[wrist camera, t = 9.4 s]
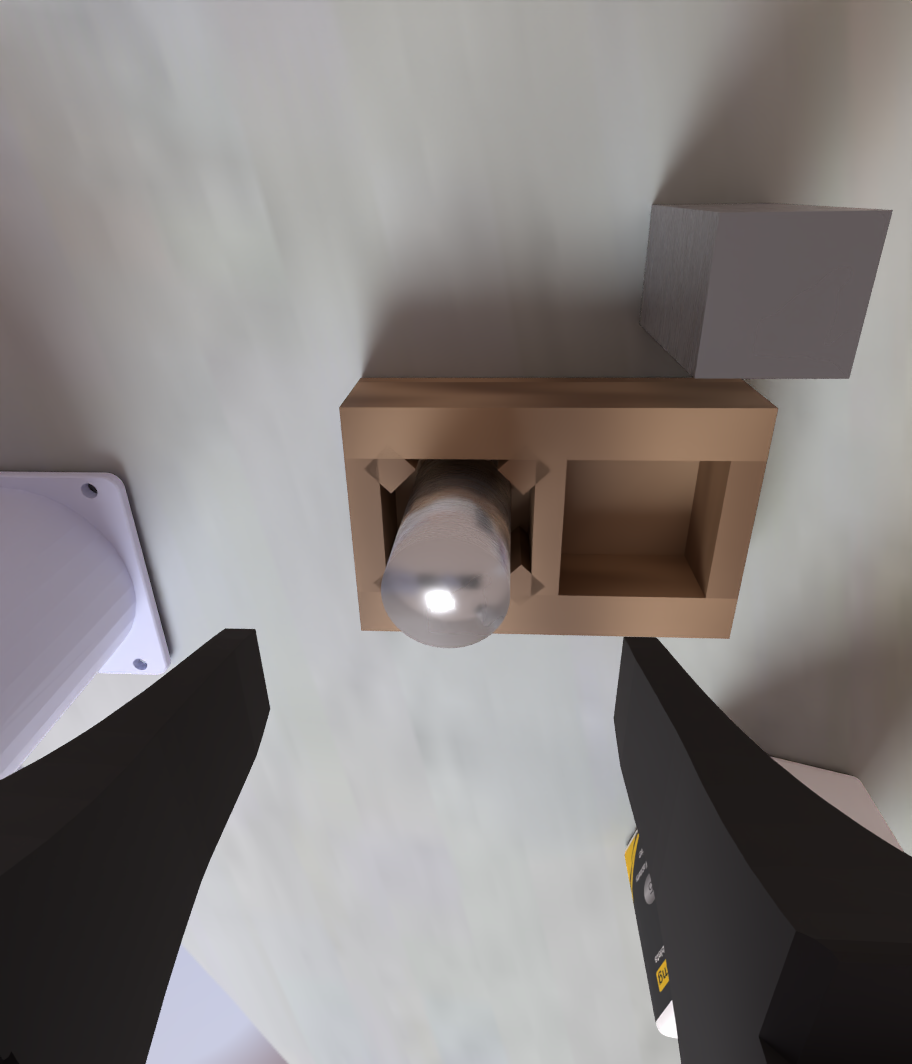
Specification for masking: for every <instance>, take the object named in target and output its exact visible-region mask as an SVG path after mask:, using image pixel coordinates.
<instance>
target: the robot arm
mask: <svg viewBox="0 0 912 1064" xmlns="http://www.w3.org/2000/svg"><path fill="white" fill-rule="evenodd" d="M88 484H92V485H93V486H94V487H95V488H96V490H97V493H94V492H92V491H91V490H90V489H89V487H88ZM140 659H142V660H144V661H145V662H146V663H143V662H142V661H140ZM170 664H171V659H170V655H169V651H168V647H167V644H166V640H165V636H164V632H163V629H162V625H161V621H160V617H159V614H158V610H157V606H156V602H155V599H154V595H153V591H152V587H151V583H150V580H149V576H148V572H147V568H146V565H145V561H144V557H143V553H142V550H141V546H140V542H139V538H138V535H137V531H136V527H135V523H134V520H133V516H132V512H131V508H130V504H129V501H128V497H127V493H126V489H125V486H124V484H123V482H122V481H121V480H120V479H119V478H118V477H117V476H115V475H114V474H111V473H104V472H0V1064H145V1063H146V1060H147V1056H148V1052H149V1049H150V1046H151V1042H152V1038H153V1035H154V1031H155V1028H156V1024H157V1021H158V1017H159V1014H160V1010H161V1007H162V1003H163V1000H164V996H165V993H166V990H167V986H168V983H169V980H170V976H171V973H172V970H173V967H174V963H175V960H176V957H177V954H178V951H179V948H180V944H181V941H182V938H183V935H184V932H185V929H186V926H187V923H188V920H189V917H190V914H191V911H192V908H193V905H194V902H195V899H196V896H197V893H198V890H199V887H200V884H201V881H202V879H203V876H204V874H205V871H206V869H207V866H208V864H209V861H210V859H211V857H212V854H213V852H214V850H215V848H216V845H217V843H218V841H219V839H220V837H221V834H222V832H223V830H224V828H225V825H226V823H227V821H228V819H229V817H230V814H231V812H232V810H233V808H234V805H235V803H236V801H237V799H238V797H239V794H240V792H241V790H242V788H243V785H244V783H245V781H246V779H247V776H248V774H249V772H250V769H251V767H252V765H253V762H254V760H255V758H256V755H257V752H258V749H259V746H260V743H261V739H262V736H263V733H264V729H265V726H266V722H267V719H268V715H269V711H270V705H269V700H268V694H267V689H266V684H265V678H264V673H263V668H262V662H261V657H260V652H259V646H258V641H257V636H256V630H255V629H224V630H223V631H221V632H220V633H218V634H217V635H216V636H214V637H213V638H212V639H210V640H209V641H208V642H206V643H205V644H204V645H203V646H201V647H200V648H199V649H197V650H196V651H195V652H194V653H192V654H191V655H190V656H189V657H187V658H186V659H185V660H183V661H182V662H181V663H180V664H178V665H177V666H176V667H175V668H173V669H172V670H171V671H169V672H168V673H167V674H165V675H164V676H163V677H162V678H160V679H159V680H158V681H156V682H155V683H154V684H152V685H151V686H150V687H149V688H147V689H146V690H145V691H143V692H142V693H140V694H139V695H138V696H136V697H135V698H133V699H132V700H131V701H129V702H128V703H126V704H125V705H123V706H122V707H121V708H119V709H118V710H116V711H115V712H114V713H112V714H111V715H109V716H108V717H106V718H105V719H104V720H102V721H101V722H99V723H98V724H96V725H95V726H93V727H92V728H90V729H89V730H87V731H86V732H84V733H82V734H81V735H79V736H78V737H76V738H75V739H73V740H71V741H70V742H68V743H66V744H65V745H63V746H61V747H60V748H58V749H56V750H55V751H53V752H51V753H50V754H48V755H46V756H44V757H43V758H41V759H39V760H37V761H36V762H34V763H32V764H30V765H28V766H26V767H24V768H22V769H20V770H18V771H17V772H16V770H17V769H18V768H19V767H20V766H21V764H22V763H23V762H24V761H25V760H26V758H27V757H28V756H29V755H30V753H31V752H32V751H33V750H34V749H35V747H36V746H37V745H38V744H39V743H40V741H41V740H42V739H43V738H44V737H45V735H46V734H47V733H48V732H49V731H50V729H51V728H52V727H53V726H54V725H55V723H56V722H57V721H58V720H59V719H60V717H61V716H62V715H63V714H64V712H65V711H66V710H67V709H68V708H69V706H70V705H71V704H72V703H73V702H74V700H75V699H76V698H77V697H78V696H79V694H80V693H81V692H82V691H83V690H84V688H85V687H86V686H87V685H88V684H89V682H90V681H91V680H92V679H93V678H94V676H95V675H96V674H97V673H117V674H154V675H157V674H162V673H164V672H165V671H166V670H167V668H168V667H169V665H170ZM614 724H615V731H616V739H617V746H618V753H619V759H620V766H621V770H622V774H623V778H624V782H625V786H626V789H627V793H628V797H629V801H630V804H631V808H632V812H633V815H634V819H635V823H636V826H637V830H638V834H639V837H640V841H641V845H642V848H643V852H644V856H645V859H646V863H647V867H648V870H649V874H650V878H651V882H652V887H653V891H654V896H655V900H656V905H657V911H658V917H659V923H660V929H661V934H662V940H663V946H664V952H665V958H666V964H667V971H668V977H669V984H670V990H671V996H672V1003H673V1009H674V1016H675V1022H676V1029H677V1036H678V1043H679V1050H680V1057H681V1064H912V857H911V856H909V855H908V854H906V853H904V852H903V851H901V850H899V849H898V848H896V847H894V846H893V845H891V844H889V843H888V842H886V841H885V840H883V839H882V838H880V837H878V836H877V835H875V834H874V833H872V832H871V831H869V830H868V829H866V828H865V827H863V826H861V825H860V824H858V823H857V822H856V821H854V820H853V819H851V818H850V817H848V816H847V815H846V814H844V813H843V812H841V811H840V810H838V809H837V808H836V807H834V806H833V805H831V804H830V803H828V802H827V801H826V800H824V799H823V798H822V797H820V796H819V795H817V794H816V793H815V792H813V791H812V790H811V789H809V788H808V787H807V786H806V785H804V784H803V783H802V782H801V781H799V780H798V779H797V778H796V777H794V776H793V775H792V774H791V773H789V772H788V771H787V770H786V769H784V768H783V767H782V766H781V765H780V764H778V763H777V762H776V761H775V760H773V759H772V758H771V757H770V756H769V755H768V754H767V753H765V752H764V751H763V750H762V749H761V748H760V747H759V746H758V745H756V744H755V743H754V742H753V741H752V740H751V739H750V738H749V737H748V736H747V735H746V734H745V733H744V732H743V731H741V730H740V729H739V728H738V727H737V726H736V725H735V724H734V723H733V722H732V721H731V720H730V719H729V718H728V717H727V716H726V715H725V714H724V713H723V711H722V710H721V709H720V708H719V707H718V706H717V705H716V704H715V703H714V702H713V701H712V700H711V699H710V698H709V697H708V696H707V695H706V694H705V692H704V691H703V690H702V689H701V688H700V687H699V686H698V685H697V684H696V682H695V681H694V680H693V679H692V678H691V677H690V676H689V675H688V673H687V672H686V671H685V670H684V669H683V668H682V666H681V665H680V664H679V663H678V662H677V661H676V659H675V658H674V657H673V656H672V655H671V654H670V652H669V651H668V650H667V649H666V648H665V647H664V645H663V644H662V643H661V642H660V641H659V640H658V639H657V638H656V637H624V639H623V647H622V655H621V664H620V672H619V680H618V688H617V696H616V704H615V712H614Z"/></svg>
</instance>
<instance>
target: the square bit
mask: <svg viewBox="0 0 912 1064" xmlns="http://www.w3.org/2000/svg"><path fill="white" fill-rule="evenodd" d="M892 211H893V210H881V209H864V208H847V207H829V206H812V205H795V204H778V203H742V204H674V205H652V210H651V219H650V228H649V238H648V247H647V256H646V265H645V274H644V284H643V293H642V302H641V311H640V321H639V324H640V325H641V326H642V327H643V328H644V329H645V330H646V331H647V332H648V333H649V334H650V335H651V336H652V337H653V338H654V339H655V340H656V341H657V342H658V343H659V344H660V345H661V346H662V347H663V348H664V349H665V350H666V351H667V352H668V353H669V354H670V355H671V356H672V357H673V358H674V359H675V360H676V361H677V362H678V363H679V364H680V365H681V366H682V367H683V368H684V369H685V370H686V371H687V372H688V373H689V374H691V375H692V376H693V377H694V378H704V379H849V377H850V373H851V369H852V366H853V362H854V358H855V354H856V350H857V346H858V342H859V338H860V335H861V331H862V327H863V323H864V319H865V315H866V311H867V308H868V304H869V300H870V296H871V292H872V288H873V284H874V280H875V277H876V273H877V269H878V265H879V261H880V257H881V253H882V249H883V246H884V242H885V238H886V234H887V230H888V226H889V222H890V219H891V215H892Z"/></svg>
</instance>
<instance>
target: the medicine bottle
mask: <svg viewBox="0 0 912 1064" xmlns="http://www.w3.org/2000/svg"><path fill="white" fill-rule="evenodd" d="M770 757H771V756H770ZM771 758H772V759H773V760H775V761H776V762H777V763H778V764H780V765H781V766H782V767H783V768H784V769H786V770H787V771H788V772H789V773H791V774H792V775H793V776H794V777H796V778H797V779H798V780H799V781H801V782H802V783H803V784H804V785H806V786H807V787H808V788H809V789H811V790H812V791H813V792H815V793H816V794H817V795H819V796H820V797H822V798H823V799H824V800H826V801H827V802H828V803H830V804H831V805H833V806H834V807H836V808H837V809H838V810H840V811H841V812H843V813H844V814H846V815H847V816H848V817H850V818H851V819H853V820H854V821H856V822H857V823H858V824H860V825H861V826H863V827H865V828H866V829H868V830H869V831H871V832H872V833H874V834H875V835H877V836H878V837H880V838H882V839H883V840H885V841H886V842H888V843H889V844H891V845H893V846H894V847H896V848H898V849H899V850H901V851H903V849H902V848H901V846H900V845H899V843H898V841H897V840H896V838H895V836H894V835H893V833H892V831H891V830H890V828H889V826H888V825H887V823H886V821H885V820H884V818H883V817H882V815H881V813H880V812H879V810H878V808H877V807H876V805H875V803H874V802H873V800H872V798H871V797H870V795H869V793H868V792H867V790H866V789H865V787H864V785H863V784H862V782H861V781H860V780H859V779H858V778H856V777H854V776H850V775H846V774H842V773H837V772H833V771H829V770H825V769H821V768H817V767H812V766H808V765H804V764H800V763H796V762H792V761H787V760H783V759H779V758H775V757H771ZM903 852H904V851H903ZM625 860H626V866H627V871H628V876H629V882H630V887H631V892H632V898H633V903H634V909H635V914H636V919H637V925H638V930H639V936H640V941H641V946H642V952H643V957H644V962H645V968H646V973H647V979H648V984H649V989H650V995H651V1000H652V1005H653V1011H654V1016H655V1022H656V1025H657V1027H658V1030H659V1031H660V1032H661V1033H662V1034H664V1035H665V1036H668V1037H673V1038H677V1039H678V1036H677V1029H676V1022H675V1016H674V1009H673V1003H672V996H671V990H670V984H669V977H668V971H667V964H666V958H665V952H664V946H663V940H662V934H661V929H660V923H659V917H658V911H657V905H656V900H655V896H654V891H653V887H652V882H651V878H650V874H649V870H648V867H647V863H646V859H645V856H644V852H643V848H642V845H641V841H640V837H639V834H638V830H636V832H635V834H634V835H633V837H632V839H631V841H630V842H629V844H628V846H627V848H626V850H625Z"/></svg>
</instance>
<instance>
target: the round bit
mask: <svg viewBox="0 0 912 1064" xmlns="http://www.w3.org/2000/svg"><path fill="white" fill-rule="evenodd" d="M510 544H511V486H510V481H509V480H508V479H507V478H506V477H504V476H503V475H502V474H501V473H500V472H499V471H498V460H496V459H427V460H426V461H425V462H424V463H423V465H422V466H421V468H420V469H419V472H418V474H417V477H416V479H415V482H414V485H413V488H412V491H411V494H410V497H409V500H408V503H407V506H406V509H405V512H404V515H403V518H402V521H401V524H400V527H399V530H398V533H397V536H396V539H395V542H394V545H393V548H392V551H391V554H390V557H389V560H388V563H387V566H386V569H385V572H384V575H383V578H382V583H381V597H382V602H383V605H384V608H385V611H386V613H387V614H388V616H389V618H390V619H391V621H392V622H393V623H394V624H395V625H396V627H397V628H399V629H400V630H401V631H402V632H403V633H404V634H406V635H407V636H409V637H410V638H412V639H414V640H416V641H418V642H421V643H423V644H426V645H430V646H434V647H440V648H458V647H464V646H468V645H472V644H474V643H477V642H479V641H481V640H483V639H485V638H486V637H488V636H489V635H491V634H492V633H493V632H494V631H495V630H496V629H497V628H498V627H499V626H500V624H501V623H502V622H503V620H504V618H505V616H506V614H507V611H508V608H509V604H510Z"/></svg>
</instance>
